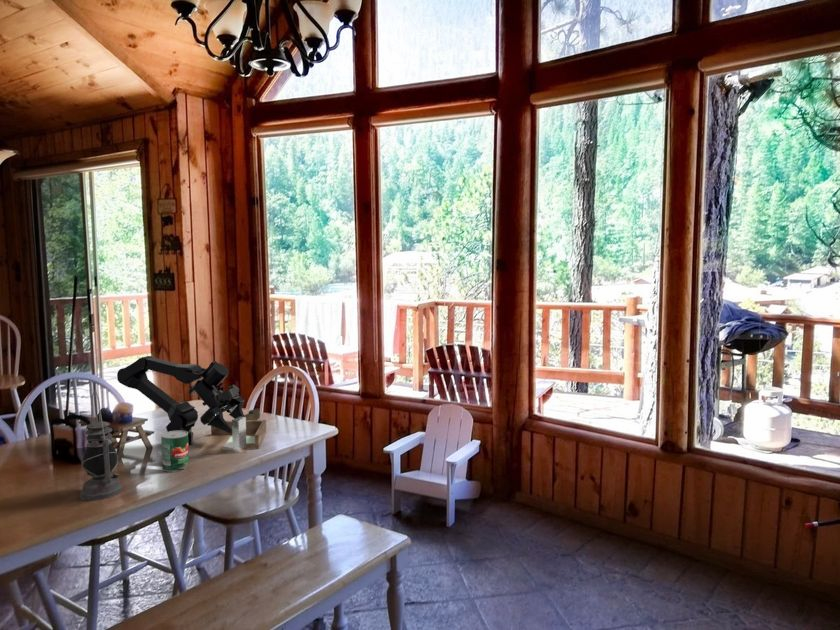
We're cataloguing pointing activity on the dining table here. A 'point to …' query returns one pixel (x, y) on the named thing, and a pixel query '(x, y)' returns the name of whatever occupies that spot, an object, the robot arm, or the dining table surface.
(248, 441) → the pad
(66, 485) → the dining table surface
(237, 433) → the bracket
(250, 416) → the hand tool
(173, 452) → the canned tomato
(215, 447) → the box
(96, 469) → the lantern
